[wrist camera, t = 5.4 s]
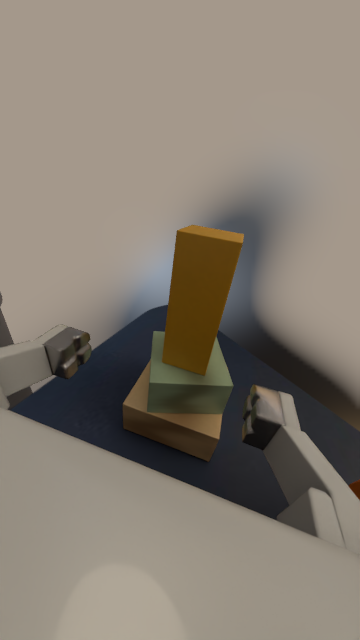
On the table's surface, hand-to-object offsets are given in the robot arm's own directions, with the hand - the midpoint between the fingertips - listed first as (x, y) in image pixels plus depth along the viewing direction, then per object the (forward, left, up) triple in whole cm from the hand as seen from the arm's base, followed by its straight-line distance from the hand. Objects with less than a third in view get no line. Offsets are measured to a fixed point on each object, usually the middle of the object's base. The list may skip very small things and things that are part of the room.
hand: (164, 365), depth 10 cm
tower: (0, +8, -14) cm, 16 cm away
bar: (0, +8, -6) cm, 10 cm away
